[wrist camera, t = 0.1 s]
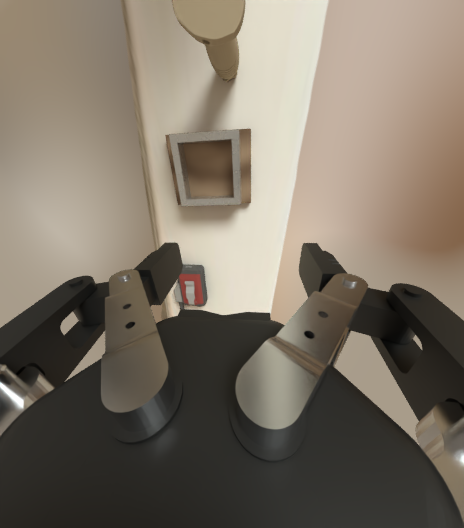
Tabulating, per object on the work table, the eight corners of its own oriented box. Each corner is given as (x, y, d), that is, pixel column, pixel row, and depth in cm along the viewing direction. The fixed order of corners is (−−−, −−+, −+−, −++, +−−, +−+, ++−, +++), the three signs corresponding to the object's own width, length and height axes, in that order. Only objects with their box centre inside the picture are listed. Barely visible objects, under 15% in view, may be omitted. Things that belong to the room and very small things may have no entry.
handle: (244, 93, 30) (237, 45, 17) (206, 84, 30) (170, 29, 17) (252, 52, 28) (251, -40, 15) (210, 41, 28) (172, -60, 15)
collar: (175, 136, 33) (168, 134, 30) (240, 131, 32) (238, 129, 29) (186, 203, 39) (181, 206, 36) (241, 201, 37) (240, 204, 35)
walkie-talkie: (170, 259, 48) (182, 316, 58) (163, 268, 44) (177, 328, 54) (204, 260, 47) (210, 318, 57) (200, 269, 43) (207, 329, 53)
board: (168, 135, 34) (165, 135, 33) (250, 129, 33) (250, 128, 31) (180, 203, 40) (178, 204, 39) (250, 201, 39) (250, 202, 37)
